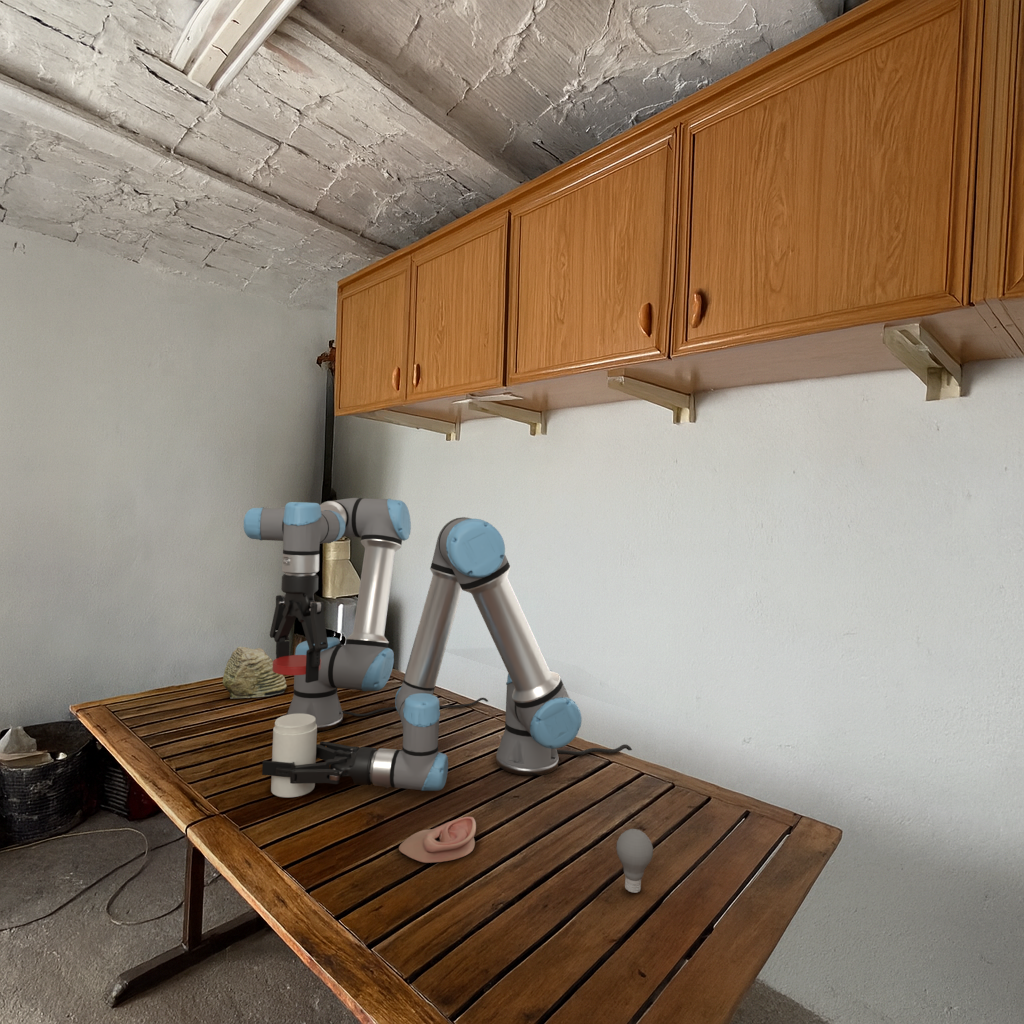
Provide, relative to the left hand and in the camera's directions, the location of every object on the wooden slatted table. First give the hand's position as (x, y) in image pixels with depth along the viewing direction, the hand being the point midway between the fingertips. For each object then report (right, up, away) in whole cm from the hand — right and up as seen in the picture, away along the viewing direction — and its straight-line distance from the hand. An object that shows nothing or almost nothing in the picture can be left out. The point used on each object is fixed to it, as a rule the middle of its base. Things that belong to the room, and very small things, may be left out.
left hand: (296, 676), depth 137 cm
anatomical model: (+33, -26, -21) cm, 47 cm away
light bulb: (+67, -28, -31) cm, 79 cm away
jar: (-1, -24, 0) cm, 24 cm away
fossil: (-34, -22, +61) cm, 73 cm away
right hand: (-5, -18, +1) cm, 19 cm away
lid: (0, +3, 0) cm, 3 cm away
